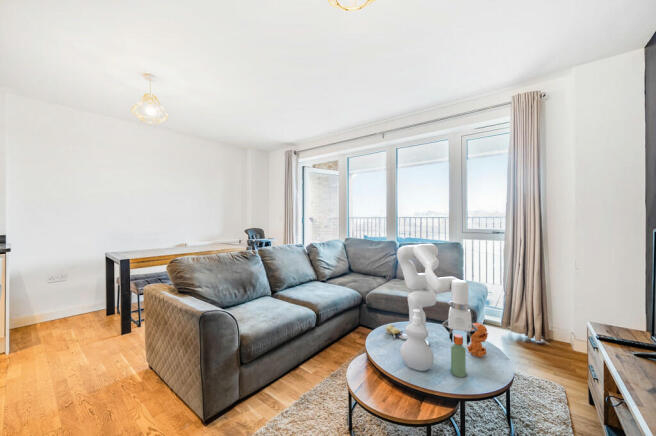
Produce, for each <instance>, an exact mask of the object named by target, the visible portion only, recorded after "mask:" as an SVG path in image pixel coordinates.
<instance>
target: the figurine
mask: <svg viewBox="0 0 656 436" xmlns="http://www.w3.org/2000/svg"><path fill="white" fill-rule="evenodd" d="M384 329H385V332H386V333H387V334H388V335H393V338H394V339H395V338H397V339H401V340H404V341H406V340H407V339H403V337H402V334H404V331H403V330H400V329H399V328H396V326H395V325H394V324H388V325H386V326H385V327H384Z"/></svg>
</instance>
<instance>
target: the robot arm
mask: <svg viewBox="0 0 656 436" xmlns="http://www.w3.org/2000/svg"><path fill="white" fill-rule="evenodd" d="M438 254H439V249H438V247H437V246H436V245H435V244H433V243H420V244H413V245H412V244H411V245H410V244H408V245H403V246H400V247H398V249H397V251H396V258H397V262H398V264H399V266H400V268H401V271H402V275H403V279H404V283H405V285H406V287H407V289H409V290H411V291H412V292H410V293H409V294H408V295H407V305H408V318H409V319H408V321H409V322H408V325H409V324H412V322H413V316H414V312H413V310H414V309H420V312H419V317H421V325H422V326H424V327H425V328H426V329H427V315H426V313H425V310H424V309H423V308H427V307H434V306H435V305H437V295H436V293H439V294H440V293H441V294H442V293H443V294H444V293H450V297H451V299H450V301H448V302H447V305H448V306H450V307H449V309H448V319H446V320H445V321H443V322H442V327H443V328H444V329H445V330H446V331H447V332H448V336H449V338H448V339H449V340H450V342H451V343H454V334H453V331H459V332H466V345H467V346H470V343H471V338H470V337H471V335H473V334H474V333H475V332H476V331H478V328H477V327H476V326H475V325H474V324H473V323H474V322H473V321H472V313H471V309H470V308H469V283H468V282H467V281H466V280H463V279H459V278H457V277H456V276H443V277H442V276H441V277H438V275H436V274H435V272H434V271H435V270H436V269H437V268H438V267H439V265H440V261H439V259H438V258H437V257H438ZM412 259H413V260H414V259H417V260H418V261H419V262H420V264H421V265H422V267H423V268H424V272H420V273H419V272H418V270H417V267H416V265H415V263H413V261H412ZM413 290H415V291H413ZM417 290H418V291H417ZM447 325H448V326H447ZM472 327H473V328H474V329H473V330H471V329H472ZM401 334H402V337H403V339H402V340H404V339H406V340H407V339H408V335H407V333H401ZM426 342H427V344H428V346H429V345H430V344H429V341H428V340H426Z"/></svg>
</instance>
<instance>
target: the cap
mask: <svg viewBox="0 0 656 436" xmlns="http://www.w3.org/2000/svg"><path fill="white" fill-rule="evenodd" d="M454 343H455V344H458V345H464V336H463V335H462V334H459V333H454V334H453V344H454Z"/></svg>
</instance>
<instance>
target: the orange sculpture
mask: <svg viewBox="0 0 656 436" xmlns="http://www.w3.org/2000/svg"><path fill="white" fill-rule="evenodd" d="M472 323H473V324H474V325H475V326H476V327H477V328H478V331H476V332H475V333H474V334H473V335H471V337H470V343H469V345H467V351H468V354H471V355H472V356H473V357H476V358H483V357H484V356H487V349H486V348H485V346H483V344H482V343H485V342H486V340H487V339H488V336H489V332H488V328H487V327H486V326H485V325H483V324H482V322H478V321H476V322H472ZM473 329H474V328H473V327H472V329H471V330H473Z"/></svg>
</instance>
